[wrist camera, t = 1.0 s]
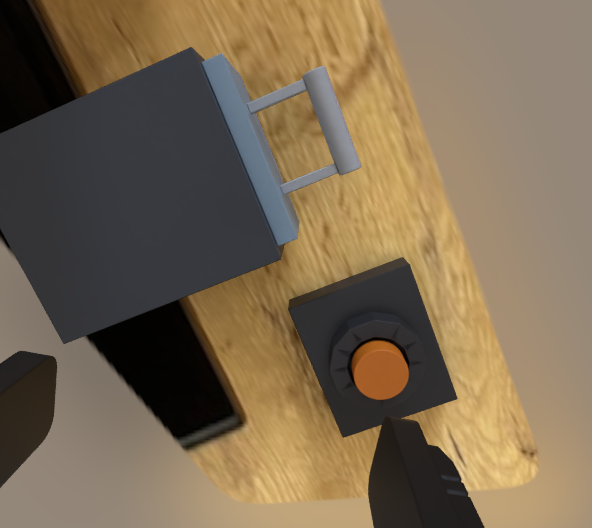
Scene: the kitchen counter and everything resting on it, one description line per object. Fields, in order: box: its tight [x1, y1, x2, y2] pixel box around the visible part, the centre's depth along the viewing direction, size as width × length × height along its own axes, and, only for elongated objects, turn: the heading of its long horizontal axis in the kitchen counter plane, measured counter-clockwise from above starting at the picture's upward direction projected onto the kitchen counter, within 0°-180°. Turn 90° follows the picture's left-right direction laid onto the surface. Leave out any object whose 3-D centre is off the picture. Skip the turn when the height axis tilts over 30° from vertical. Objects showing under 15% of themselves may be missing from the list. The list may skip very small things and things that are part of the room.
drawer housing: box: [0, 47, 285, 344], centre depth 29 cm, size 14×12×9 cm
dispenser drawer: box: [202, 53, 361, 246], centre depth 28 cm, size 17×10×7 cm, turn 112°
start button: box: [351, 340, 409, 400], centre depth 31 cm, size 4×4×2 cm
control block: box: [288, 257, 457, 438], centre depth 33 cm, size 11×9×4 cm
